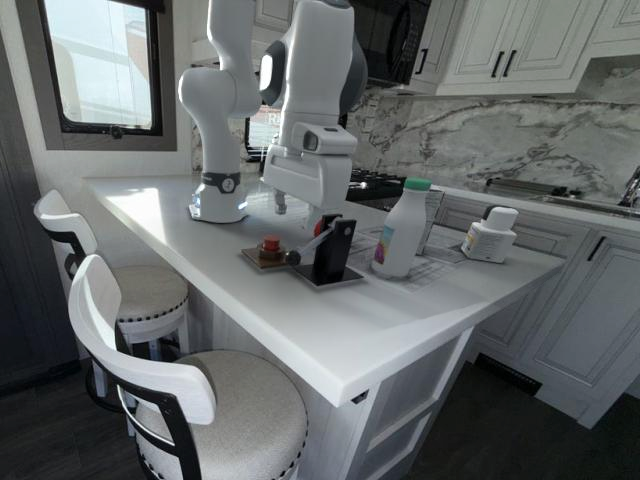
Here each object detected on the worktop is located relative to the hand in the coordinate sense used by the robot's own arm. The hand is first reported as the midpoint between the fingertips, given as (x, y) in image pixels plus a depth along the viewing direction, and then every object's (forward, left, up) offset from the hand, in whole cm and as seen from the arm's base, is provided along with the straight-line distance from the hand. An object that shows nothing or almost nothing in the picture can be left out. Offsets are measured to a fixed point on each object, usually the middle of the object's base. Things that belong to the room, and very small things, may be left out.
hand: (293, 221), depth 56 cm
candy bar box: (-8, +44, -13) cm, 47 cm away
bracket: (0, +10, -13) cm, 16 cm away
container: (+3, +59, -13) cm, 61 cm away
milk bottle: (+3, +25, -13) cm, 29 cm away
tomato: (-16, +23, -13) cm, 31 cm away
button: (-11, +2, -10) cm, 14 cm away
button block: (-11, +2, -13) cm, 17 cm away
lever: (0, +6, -6) cm, 9 cm away
